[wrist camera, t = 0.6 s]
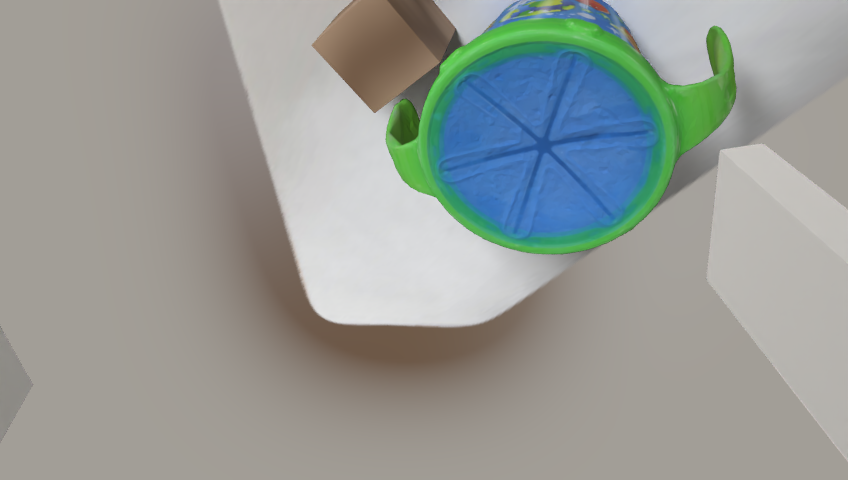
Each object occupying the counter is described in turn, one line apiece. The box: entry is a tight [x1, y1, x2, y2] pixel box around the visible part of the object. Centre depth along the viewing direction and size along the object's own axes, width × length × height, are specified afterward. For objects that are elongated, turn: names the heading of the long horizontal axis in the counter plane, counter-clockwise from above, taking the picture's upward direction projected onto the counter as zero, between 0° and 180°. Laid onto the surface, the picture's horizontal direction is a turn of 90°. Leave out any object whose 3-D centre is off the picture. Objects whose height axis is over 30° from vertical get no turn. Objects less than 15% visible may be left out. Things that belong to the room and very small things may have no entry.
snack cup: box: [386, 0, 736, 254], centre depth 32 cm, size 16×10×10 cm
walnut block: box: [312, 0, 456, 113], centre depth 35 cm, size 4×4×4 cm
